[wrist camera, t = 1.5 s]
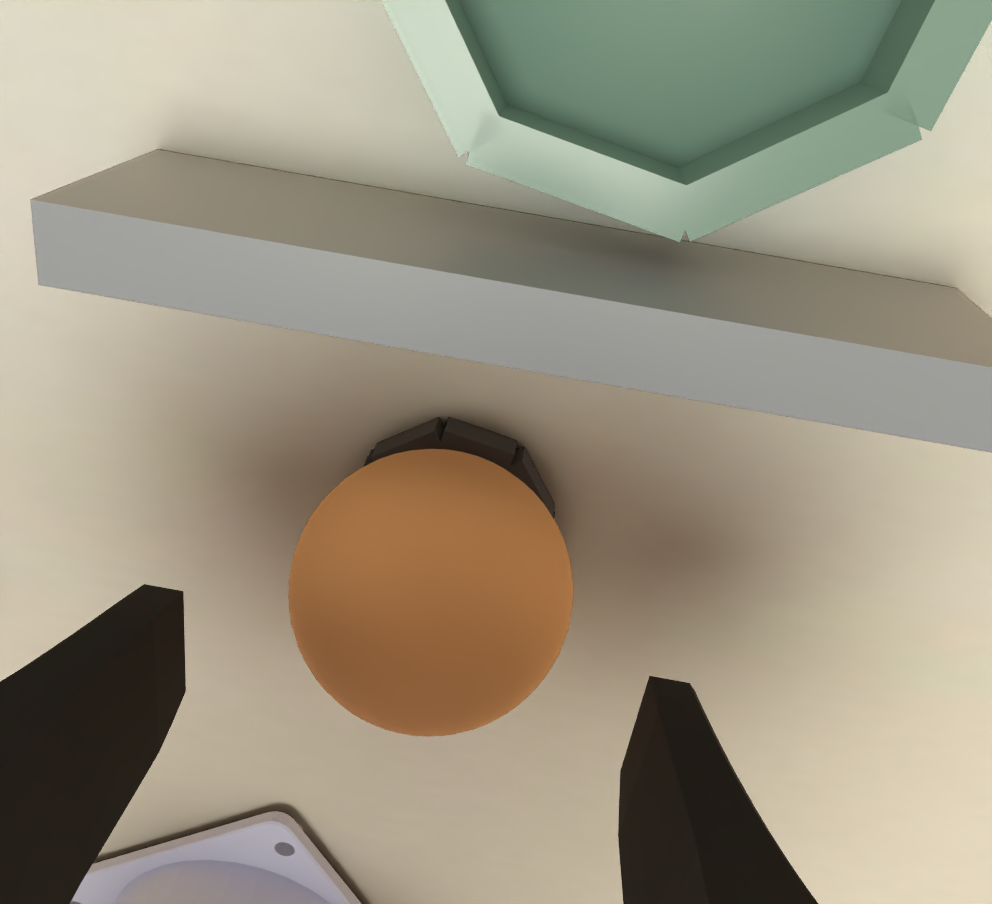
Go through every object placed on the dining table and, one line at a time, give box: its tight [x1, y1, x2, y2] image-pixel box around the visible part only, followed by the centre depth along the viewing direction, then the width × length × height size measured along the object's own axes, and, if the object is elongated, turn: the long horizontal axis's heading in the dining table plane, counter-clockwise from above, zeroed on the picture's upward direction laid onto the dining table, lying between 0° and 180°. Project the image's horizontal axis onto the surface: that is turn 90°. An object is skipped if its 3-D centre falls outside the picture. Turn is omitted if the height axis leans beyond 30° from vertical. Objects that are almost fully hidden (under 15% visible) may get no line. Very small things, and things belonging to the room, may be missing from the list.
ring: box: [364, 417, 555, 519], centre depth 18 cm, size 4×4×1 cm
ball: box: [289, 449, 573, 736], centre depth 16 cm, size 5×5×5 cm
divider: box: [30, 149, 992, 453], centre depth 14 cm, size 14×1×4 cm, turn 81°
